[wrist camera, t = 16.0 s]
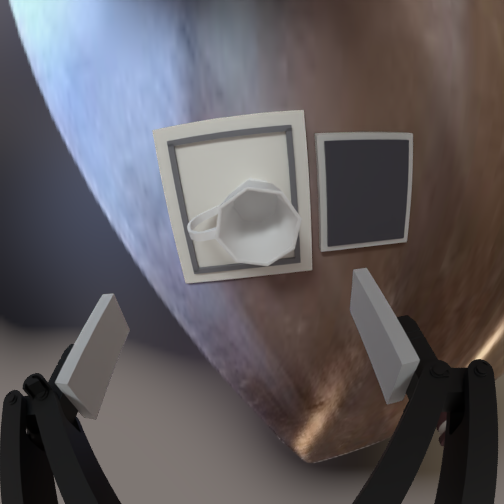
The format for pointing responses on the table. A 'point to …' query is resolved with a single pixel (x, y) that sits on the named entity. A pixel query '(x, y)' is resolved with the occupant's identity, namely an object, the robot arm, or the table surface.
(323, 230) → the ink pad
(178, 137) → the board
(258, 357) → the table surface
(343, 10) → the table surface
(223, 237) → the cup
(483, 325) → the table surface
